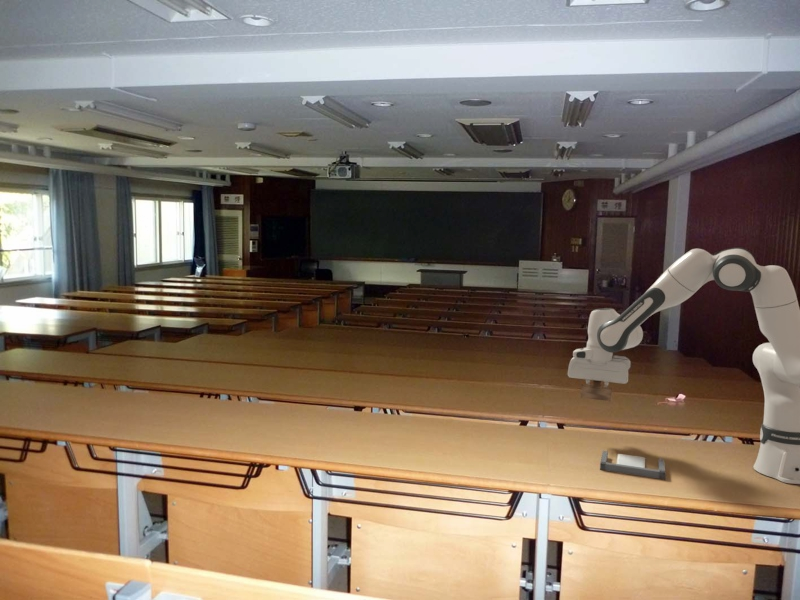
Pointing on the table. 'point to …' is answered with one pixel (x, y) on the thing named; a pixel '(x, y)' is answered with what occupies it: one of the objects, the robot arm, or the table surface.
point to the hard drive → (631, 460)
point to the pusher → (596, 391)
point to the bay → (633, 468)
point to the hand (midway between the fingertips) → (596, 392)
